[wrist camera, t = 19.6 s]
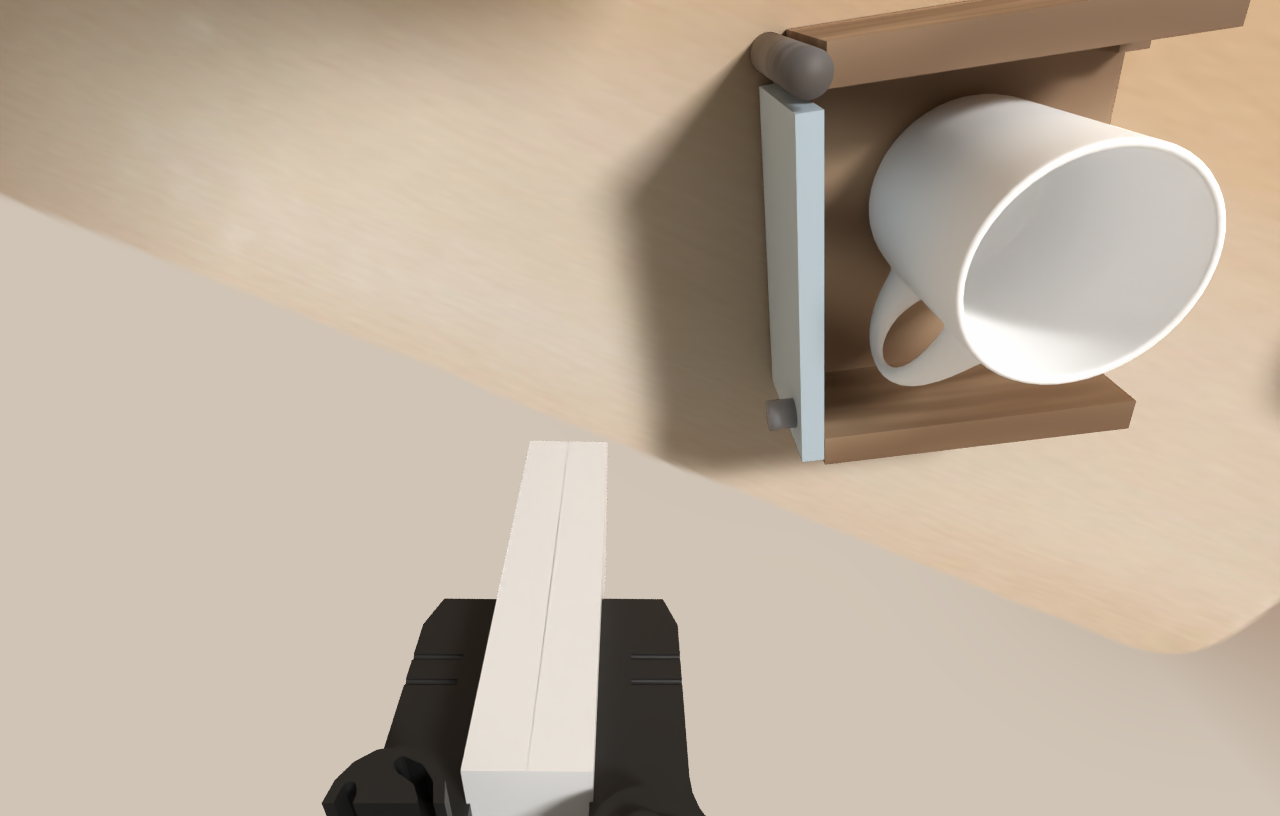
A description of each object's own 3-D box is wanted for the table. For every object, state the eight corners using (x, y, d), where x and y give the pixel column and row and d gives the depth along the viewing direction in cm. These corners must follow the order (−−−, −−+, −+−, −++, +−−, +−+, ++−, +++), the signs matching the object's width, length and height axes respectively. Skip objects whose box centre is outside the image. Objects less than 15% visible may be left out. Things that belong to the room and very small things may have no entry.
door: (731, 89, 30) (760, 119, 24) (782, 82, 30) (824, 109, 24) (750, 383, 38) (776, 465, 32) (790, 378, 38) (824, 459, 31)
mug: (780, 276, 34) (835, 384, 25) (960, 47, 29) (1114, 77, 20) (905, 358, 37) (998, 483, 27) (1092, 161, 31) (1282, 235, 22)
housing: (748, 35, 29) (785, 50, 23) (1125, -25, 28) (1282, -27, 22) (766, 393, 39) (795, 481, 32) (1049, 358, 38) (1142, 440, 31)
